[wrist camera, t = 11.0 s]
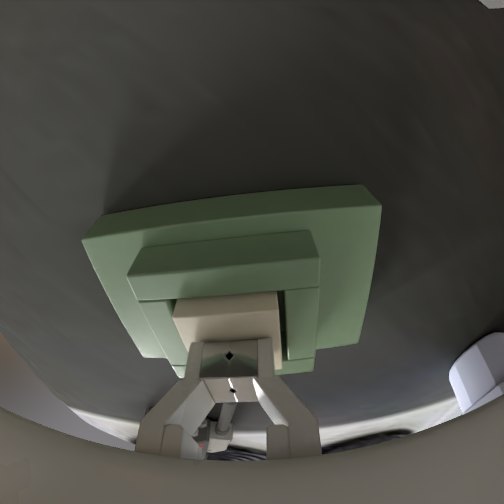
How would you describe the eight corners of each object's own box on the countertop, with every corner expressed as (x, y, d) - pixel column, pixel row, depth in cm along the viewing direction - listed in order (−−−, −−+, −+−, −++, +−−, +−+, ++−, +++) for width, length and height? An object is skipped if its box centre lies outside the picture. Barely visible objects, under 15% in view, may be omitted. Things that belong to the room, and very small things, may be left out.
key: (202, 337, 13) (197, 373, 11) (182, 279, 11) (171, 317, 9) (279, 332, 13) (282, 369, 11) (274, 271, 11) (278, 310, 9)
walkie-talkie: (221, 449, 31) (246, 383, 20) (220, 478, 27) (246, 435, 16) (156, 439, 30) (132, 365, 19) (152, 468, 26) (119, 414, 15)
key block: (151, 329, 16) (136, 383, 13) (101, 214, 12) (59, 264, 9) (349, 314, 16) (366, 370, 12) (362, 183, 11) (403, 229, 8)
